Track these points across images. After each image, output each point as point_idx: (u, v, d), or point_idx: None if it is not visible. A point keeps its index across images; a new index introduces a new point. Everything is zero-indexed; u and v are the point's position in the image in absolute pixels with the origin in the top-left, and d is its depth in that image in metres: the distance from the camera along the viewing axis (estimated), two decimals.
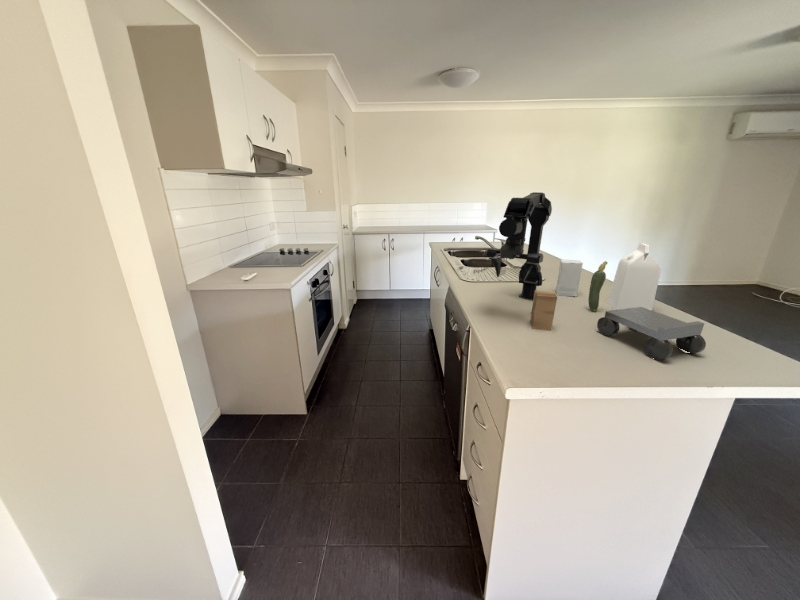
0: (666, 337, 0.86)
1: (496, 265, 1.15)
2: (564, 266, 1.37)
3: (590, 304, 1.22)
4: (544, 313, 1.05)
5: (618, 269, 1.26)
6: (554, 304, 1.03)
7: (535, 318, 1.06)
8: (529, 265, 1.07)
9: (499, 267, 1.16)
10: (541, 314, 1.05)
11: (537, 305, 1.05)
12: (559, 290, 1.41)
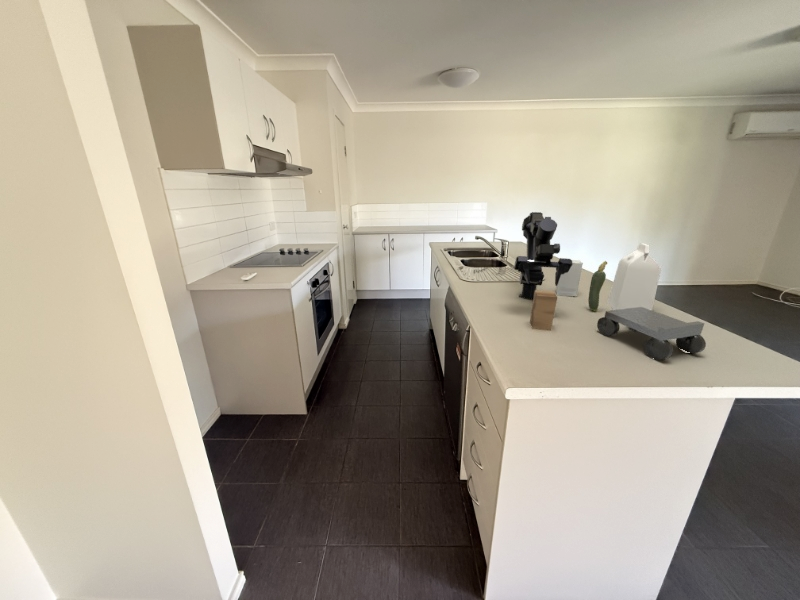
0: (666, 337, 0.86)
1: (527, 271, 1.14)
2: None
3: (590, 304, 1.22)
4: (544, 313, 1.05)
5: (618, 269, 1.26)
6: (554, 304, 1.03)
7: (535, 318, 1.06)
8: (563, 267, 1.11)
9: None
10: (541, 314, 1.05)
11: (537, 305, 1.05)
12: (559, 290, 1.41)
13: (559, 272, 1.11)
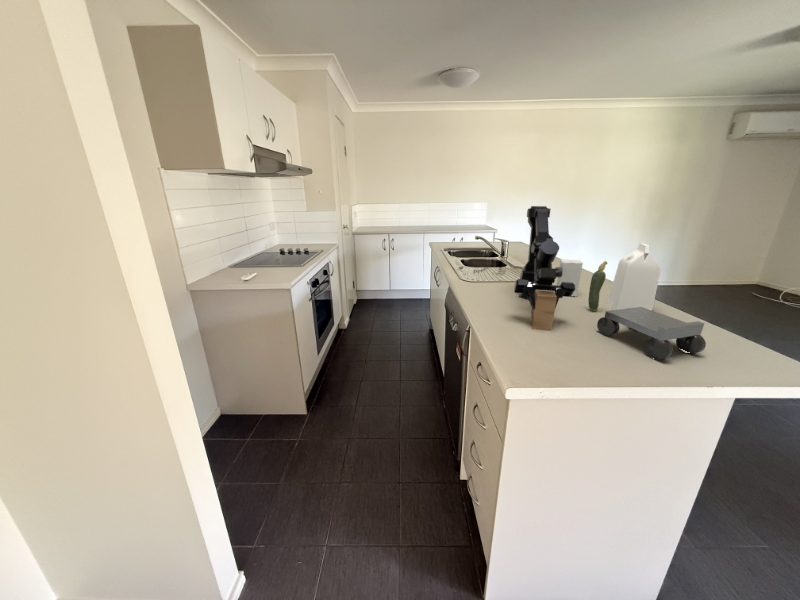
0: (666, 337, 0.86)
1: (532, 295, 1.08)
2: (564, 266, 1.37)
3: (590, 304, 1.22)
4: (544, 313, 1.05)
5: (618, 269, 1.26)
6: (554, 304, 1.03)
7: (535, 318, 1.06)
8: (561, 291, 1.05)
9: None
10: (541, 314, 1.05)
11: (537, 305, 1.05)
12: None
13: (557, 296, 1.06)
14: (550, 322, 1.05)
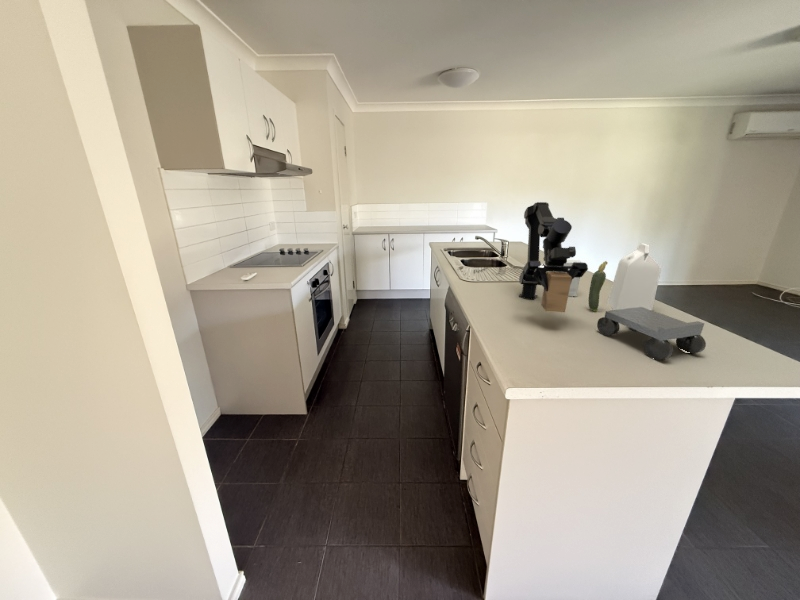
0: (666, 337, 0.86)
1: (545, 276, 1.04)
2: None
3: (590, 304, 1.22)
4: (558, 295, 1.02)
5: (618, 269, 1.26)
6: (568, 284, 1.00)
7: (549, 300, 1.03)
8: (574, 271, 1.03)
9: None
10: (555, 296, 1.02)
11: (551, 286, 1.01)
12: None
13: None
14: (564, 303, 1.02)
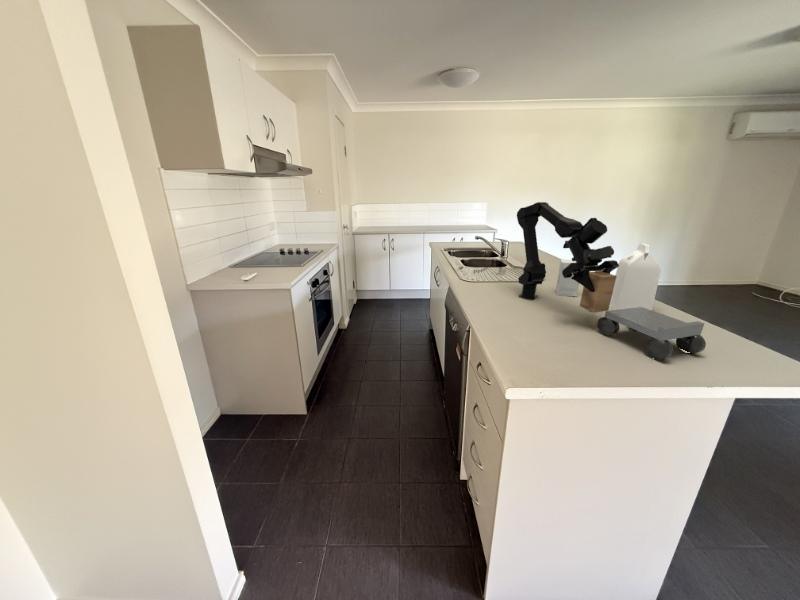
0: (666, 337, 0.86)
1: (589, 278, 1.03)
2: (564, 266, 1.37)
3: None
4: (605, 294, 1.03)
5: (618, 269, 1.26)
6: (613, 283, 1.02)
7: (597, 301, 1.02)
8: (610, 270, 1.05)
9: None
10: (603, 296, 1.02)
11: (600, 287, 1.01)
12: (559, 290, 1.41)
13: None
14: (608, 302, 1.04)
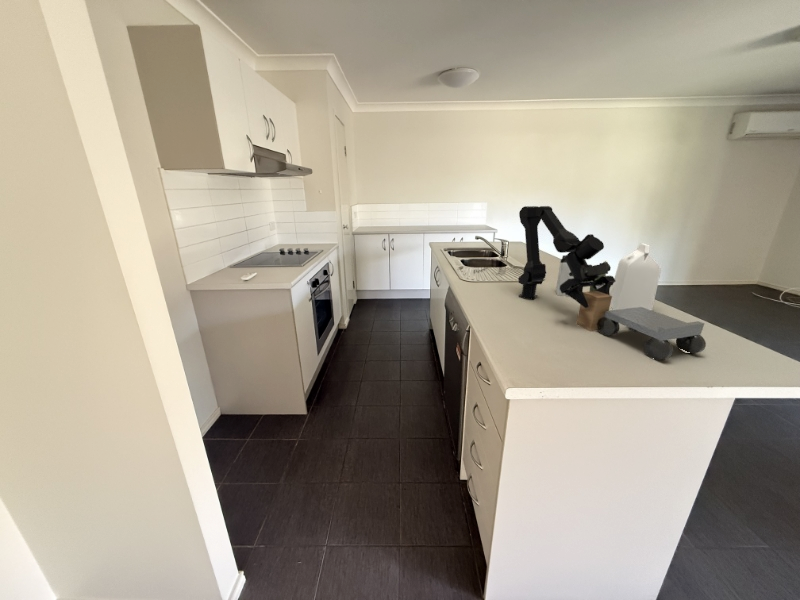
0: (666, 337, 0.86)
1: (582, 294, 1.05)
2: (564, 266, 1.37)
3: None
4: (601, 314, 1.05)
5: (618, 269, 1.26)
6: (609, 303, 1.04)
7: (593, 320, 1.05)
8: (610, 285, 1.08)
9: None
10: (599, 315, 1.05)
11: (596, 307, 1.03)
12: (559, 290, 1.41)
13: (607, 291, 1.08)
14: None
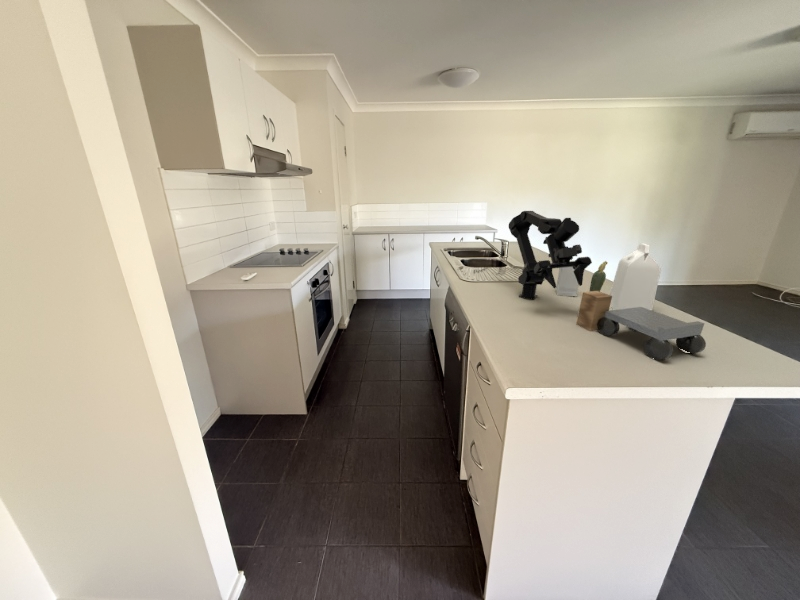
0: (666, 337, 0.86)
1: (551, 275, 1.13)
2: None
3: None
4: (601, 314, 1.05)
5: (618, 269, 1.26)
6: (609, 303, 1.04)
7: (593, 320, 1.05)
8: (584, 266, 1.12)
9: None
10: (599, 315, 1.05)
11: (596, 307, 1.03)
12: (559, 290, 1.41)
13: (581, 272, 1.13)
14: None
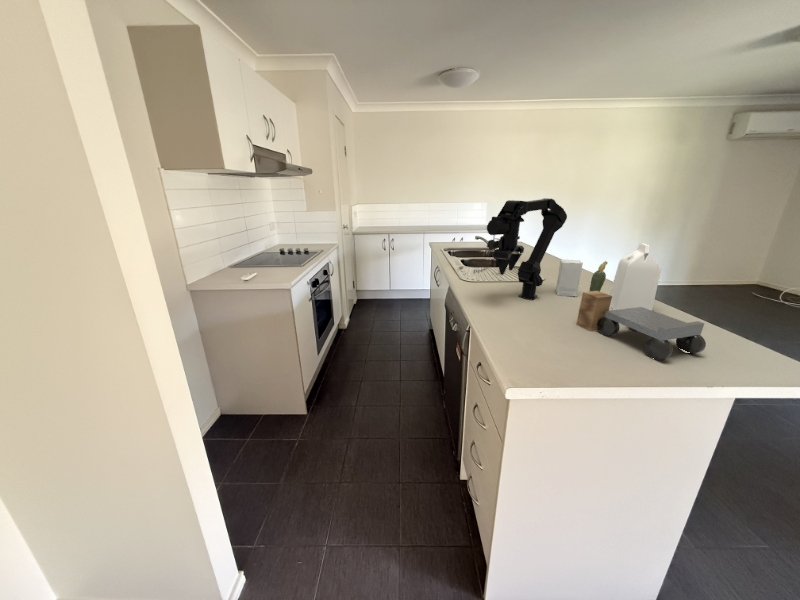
0: (666, 337, 0.86)
1: None
2: (564, 266, 1.37)
3: None
4: (601, 314, 1.05)
5: (618, 269, 1.26)
6: (609, 303, 1.04)
7: (593, 320, 1.05)
8: None
9: (512, 262, 1.31)
10: (599, 315, 1.05)
11: (596, 307, 1.03)
12: (559, 290, 1.41)
13: None
14: None
